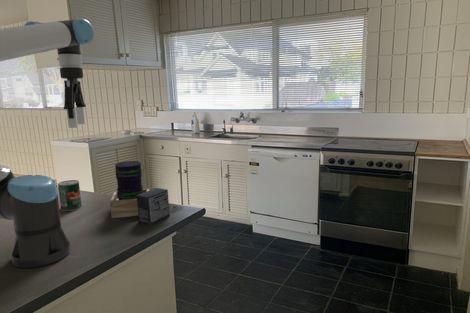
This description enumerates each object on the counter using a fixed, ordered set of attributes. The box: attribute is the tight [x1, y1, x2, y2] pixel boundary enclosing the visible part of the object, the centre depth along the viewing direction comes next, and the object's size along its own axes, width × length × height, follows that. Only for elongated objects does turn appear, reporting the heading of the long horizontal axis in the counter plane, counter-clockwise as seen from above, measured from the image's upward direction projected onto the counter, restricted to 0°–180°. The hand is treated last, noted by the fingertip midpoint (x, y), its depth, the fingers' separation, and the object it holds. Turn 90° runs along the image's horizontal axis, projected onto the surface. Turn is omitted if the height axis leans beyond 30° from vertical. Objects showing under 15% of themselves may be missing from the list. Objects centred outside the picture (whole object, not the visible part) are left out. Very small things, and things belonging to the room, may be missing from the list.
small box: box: [136, 187, 171, 226], centre depth 129 cm, size 11×6×10 cm, turn 149°
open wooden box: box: [109, 188, 150, 219], centre depth 139 cm, size 14×14×6 cm
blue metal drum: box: [114, 160, 144, 200], centre depth 137 cm, size 10×10×15 cm
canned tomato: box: [57, 179, 83, 212], centre depth 143 cm, size 8×8×11 cm
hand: (77, 126), depth 129 cm, fingers open, 13 cm apart
